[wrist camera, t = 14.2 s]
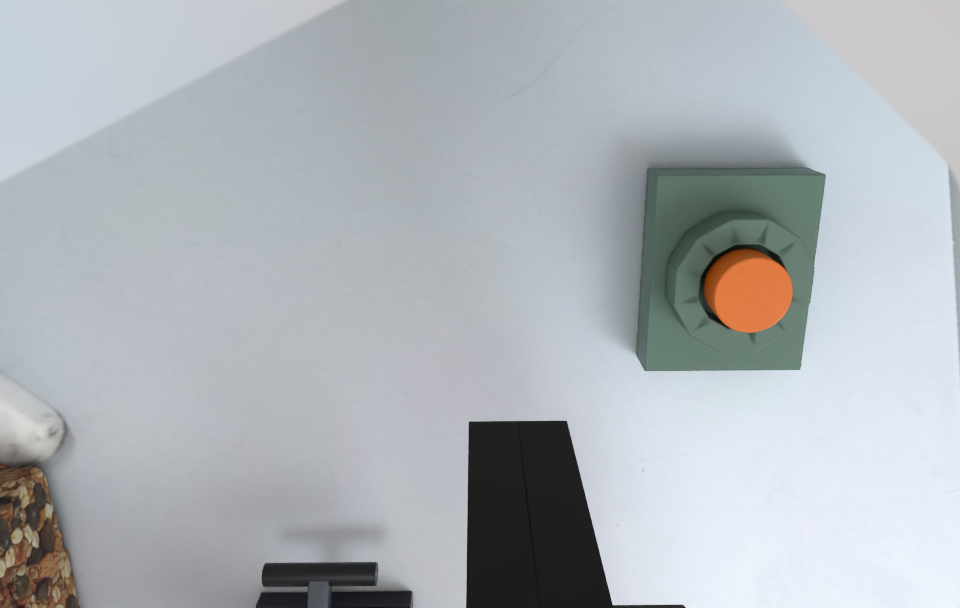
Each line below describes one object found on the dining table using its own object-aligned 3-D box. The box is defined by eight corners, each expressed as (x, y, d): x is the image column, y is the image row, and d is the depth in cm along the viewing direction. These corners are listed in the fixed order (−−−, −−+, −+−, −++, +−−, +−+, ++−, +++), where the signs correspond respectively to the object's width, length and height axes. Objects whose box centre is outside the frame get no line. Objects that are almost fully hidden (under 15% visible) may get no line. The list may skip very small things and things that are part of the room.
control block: (647, 168, 39) (666, 181, 35) (807, 167, 39) (843, 180, 35) (635, 355, 42) (651, 385, 38) (784, 354, 42) (815, 384, 38)
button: (706, 248, 37) (717, 257, 35) (783, 247, 37) (798, 257, 35) (700, 321, 38) (710, 333, 36) (774, 320, 38) (788, 333, 36)
